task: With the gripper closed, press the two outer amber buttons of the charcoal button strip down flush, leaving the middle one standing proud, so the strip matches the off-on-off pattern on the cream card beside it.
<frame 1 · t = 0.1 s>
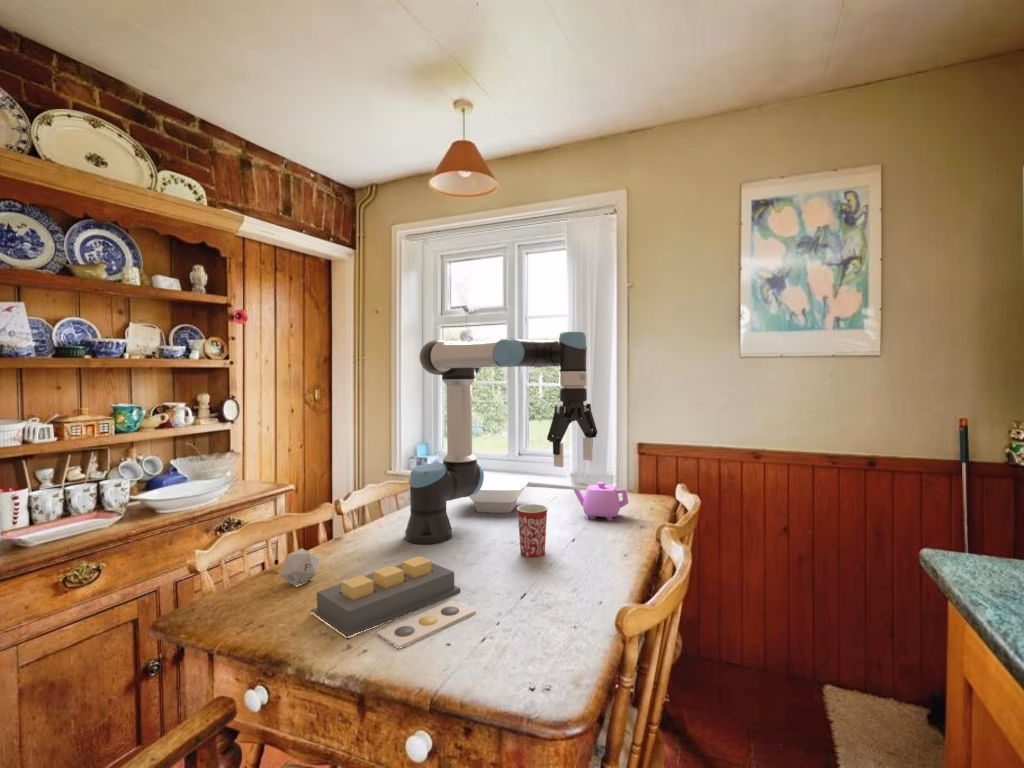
hand: (573, 463, 142), 28 cm above the table, fingers open, 13 cm apart
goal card: (428, 623, 108), on the table
board: (388, 602, 119), on the table
button c: (416, 569, 124), point 5 cm above the table, slide at 0.0 cm
die: (299, 583, 131), on the table
button a: (357, 590, 113), point 5 cm above the table, slide at 0.0 cm
teapot: (600, 517, 188), on the table
button b: (388, 579, 119), point 5 cm above the table, slide at 0.0 cm
mug: (535, 551, 152), on the table
bowl: (496, 508, 202), on the table
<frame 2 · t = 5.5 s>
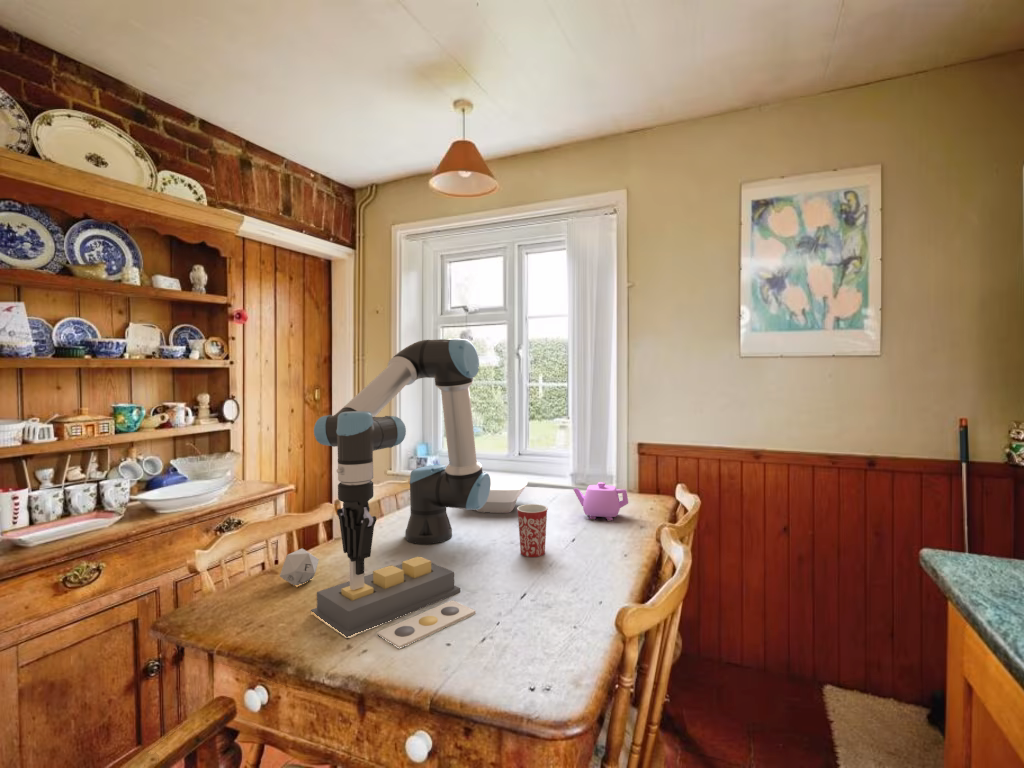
hand: (357, 587, 113), 6 cm above the table, fingers closed
button a: (357, 597, 113), point 4 cm above the table, slide at 1.6 cm
everything else where it was.
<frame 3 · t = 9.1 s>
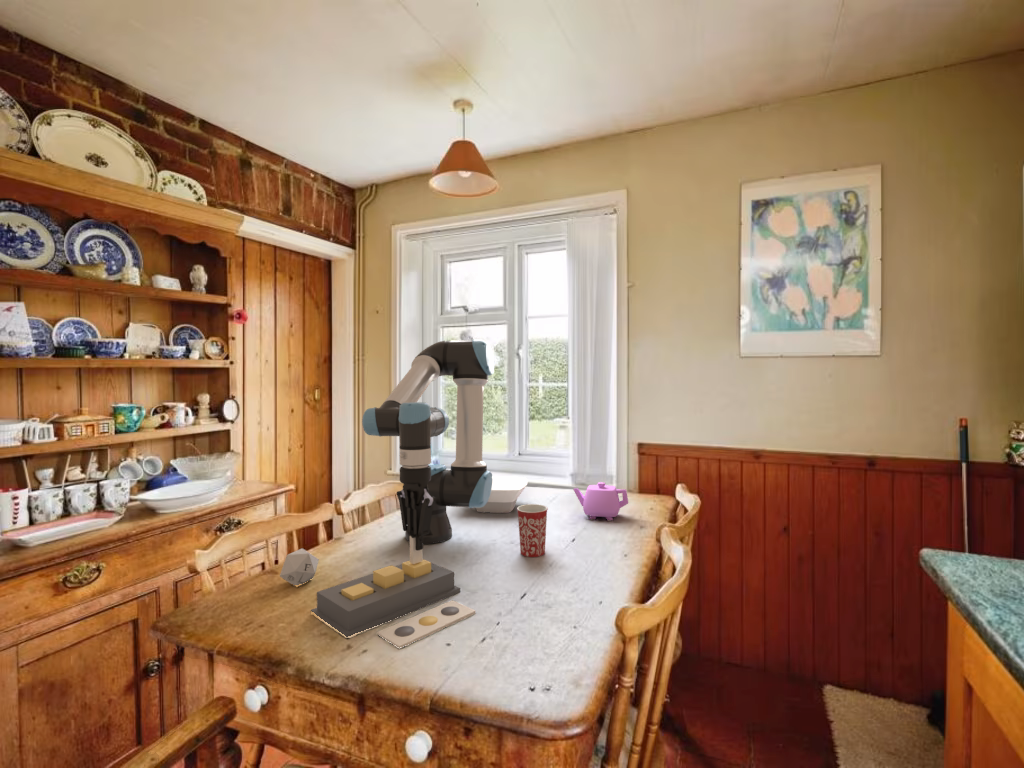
hand: (416, 561, 124), 7 cm above the table, fingers closed
button c: (416, 570, 124), point 5 cm above the table, slide at 0.3 cm, touching gripper
everything else where it was.
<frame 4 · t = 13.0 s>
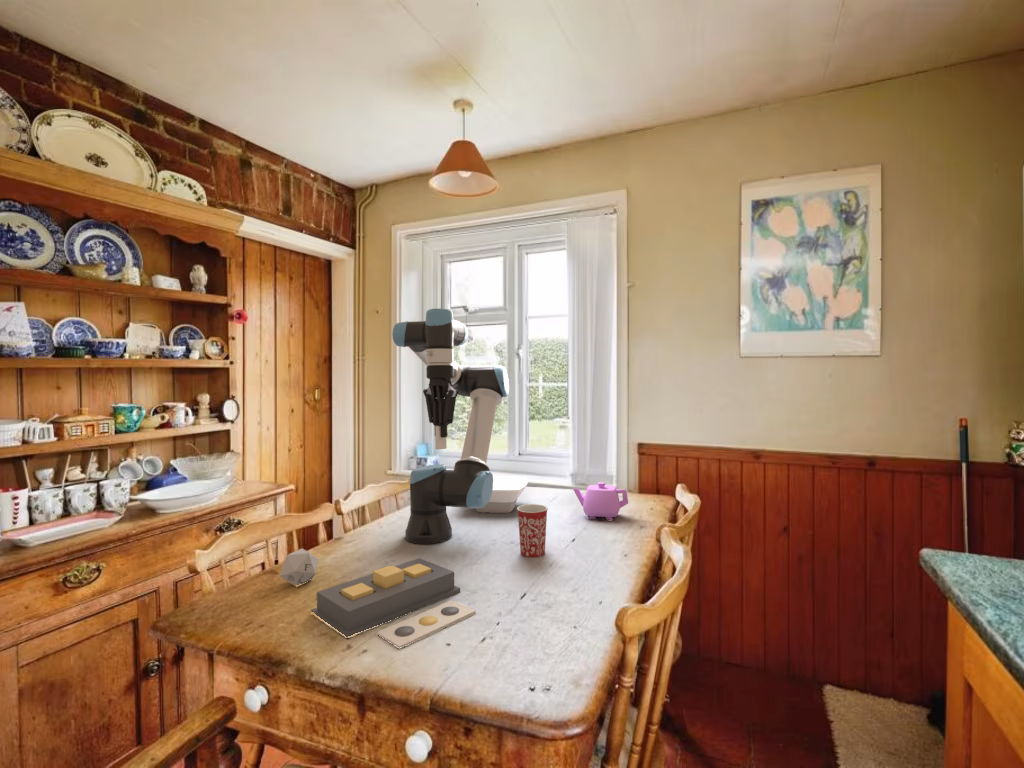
hand: (441, 448, 142), 32 cm above the table, fingers closed
button c: (416, 576, 124), point 4 cm above the table, slide at 1.8 cm
everything else where it was.
at the end: button a slide at 1.8 cm; button c slide at 1.8 cm; button b slide at 0.0 cm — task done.
